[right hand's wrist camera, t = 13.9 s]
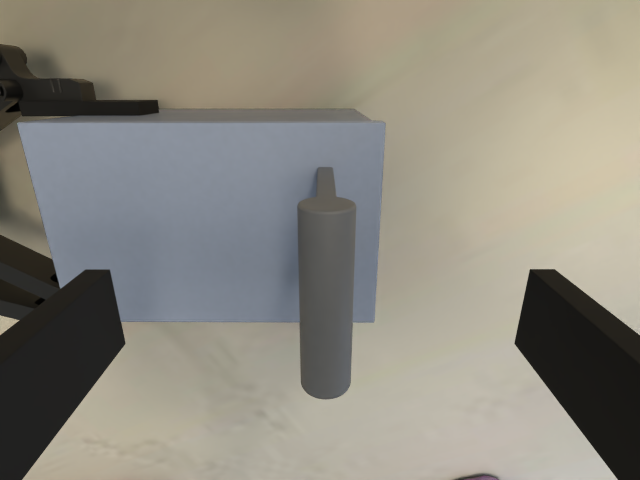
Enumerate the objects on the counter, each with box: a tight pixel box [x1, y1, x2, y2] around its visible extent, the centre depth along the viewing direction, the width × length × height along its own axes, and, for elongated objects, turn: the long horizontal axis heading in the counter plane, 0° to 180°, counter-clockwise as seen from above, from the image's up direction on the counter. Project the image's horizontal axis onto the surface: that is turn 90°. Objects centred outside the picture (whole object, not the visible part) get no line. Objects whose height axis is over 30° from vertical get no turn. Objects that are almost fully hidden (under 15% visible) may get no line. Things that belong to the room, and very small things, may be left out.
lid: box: [17, 121, 385, 399], centre depth 16 cm, size 16×10×8 cm, turn 90°
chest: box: [35, 109, 372, 121], centre depth 25 cm, size 16×10×11 cm, turn 90°
